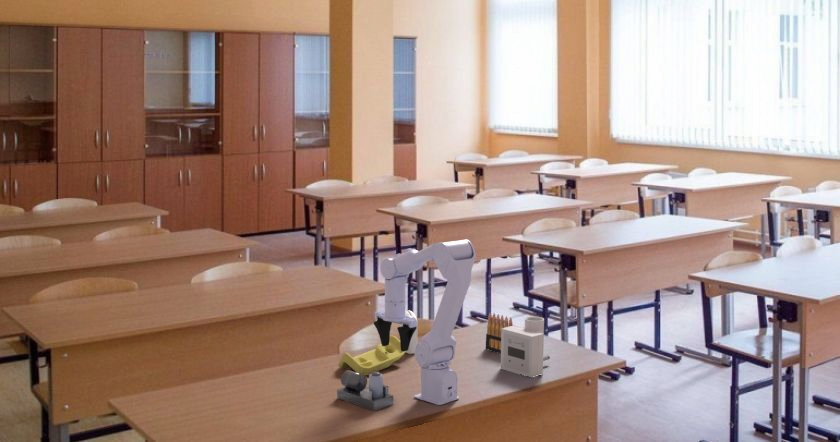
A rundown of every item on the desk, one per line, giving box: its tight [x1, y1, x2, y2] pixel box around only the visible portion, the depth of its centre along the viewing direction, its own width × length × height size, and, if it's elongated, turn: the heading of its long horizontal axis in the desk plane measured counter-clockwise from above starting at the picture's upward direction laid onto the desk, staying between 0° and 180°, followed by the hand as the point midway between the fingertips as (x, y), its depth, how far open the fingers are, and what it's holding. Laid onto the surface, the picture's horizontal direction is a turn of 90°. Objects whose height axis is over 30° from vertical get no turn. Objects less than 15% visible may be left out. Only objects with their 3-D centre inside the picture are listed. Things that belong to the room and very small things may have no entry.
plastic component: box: [337, 335, 406, 376], centre depth 293 cm, size 20×7×10 cm
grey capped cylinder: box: [368, 371, 384, 398], centre depth 257 cm, size 4×4×6 cm
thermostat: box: [500, 316, 551, 378], centre depth 290 cm, size 12×14×15 cm
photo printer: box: [399, 309, 419, 355], centre depth 310 cm, size 10×4×12 cm, turn 13°
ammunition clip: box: [485, 312, 514, 354], centre depth 308 cm, size 11×2×12 cm, turn 42°
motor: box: [336, 369, 394, 411], centre depth 260 cm, size 15×7×7 cm, turn 46°
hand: (394, 348), depth 276 cm, fingers open, 7 cm apart
